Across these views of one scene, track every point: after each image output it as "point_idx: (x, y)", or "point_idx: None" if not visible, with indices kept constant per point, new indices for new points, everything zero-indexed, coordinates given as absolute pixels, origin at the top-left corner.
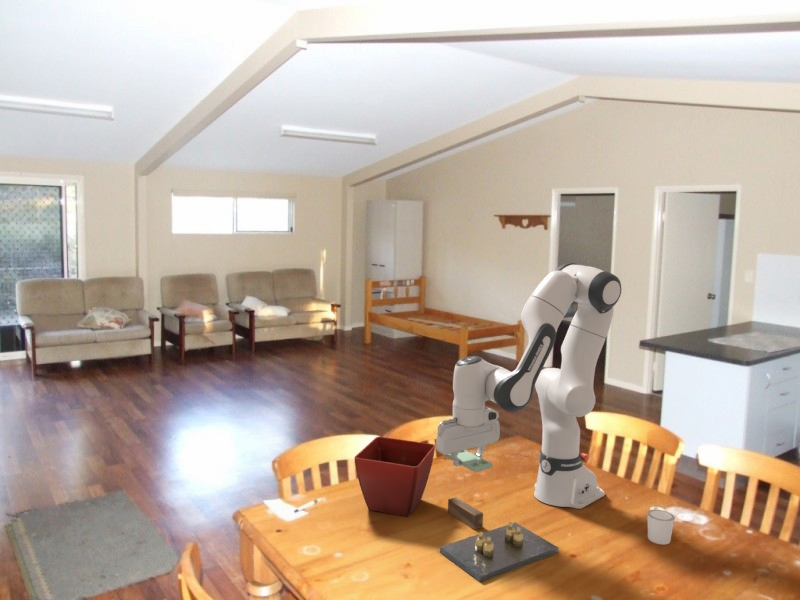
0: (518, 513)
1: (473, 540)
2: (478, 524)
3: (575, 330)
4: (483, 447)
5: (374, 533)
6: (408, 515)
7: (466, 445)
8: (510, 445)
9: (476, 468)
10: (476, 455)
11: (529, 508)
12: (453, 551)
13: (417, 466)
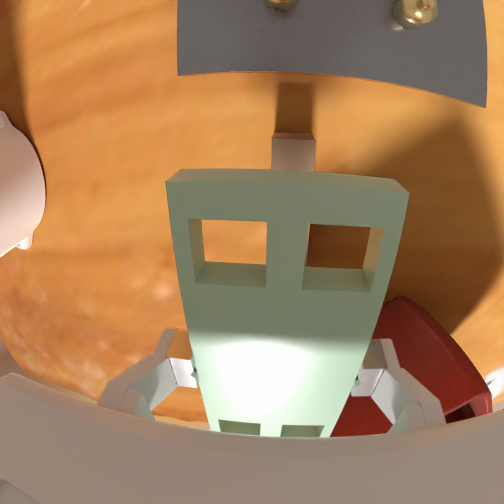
0: (119, 148)
1: (392, 59)
2: (293, 134)
3: None
4: (124, 394)
5: (500, 271)
6: (403, 297)
7: (355, 475)
8: (35, 367)
9: (396, 189)
10: (192, 368)
11: (80, 160)
12: (474, 63)
13: (481, 395)
